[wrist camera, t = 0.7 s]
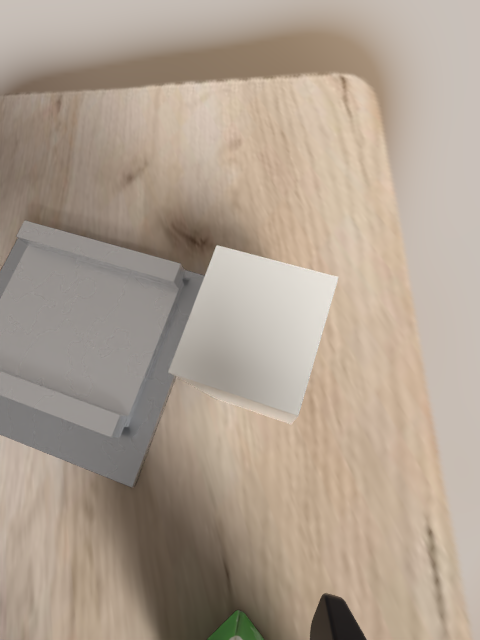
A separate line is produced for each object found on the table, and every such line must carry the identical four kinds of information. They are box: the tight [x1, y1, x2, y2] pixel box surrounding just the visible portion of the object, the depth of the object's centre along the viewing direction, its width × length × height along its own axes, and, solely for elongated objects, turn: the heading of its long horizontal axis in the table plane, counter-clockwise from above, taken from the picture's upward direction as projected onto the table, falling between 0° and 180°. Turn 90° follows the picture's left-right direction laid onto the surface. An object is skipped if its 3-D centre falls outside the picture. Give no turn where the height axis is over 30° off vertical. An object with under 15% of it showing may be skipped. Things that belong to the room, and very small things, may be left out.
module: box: [168, 245, 338, 424], centre depth 18 cm, size 5×5×10 cm
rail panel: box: [0, 221, 205, 487], centre depth 24 cm, size 13×14×2 cm
